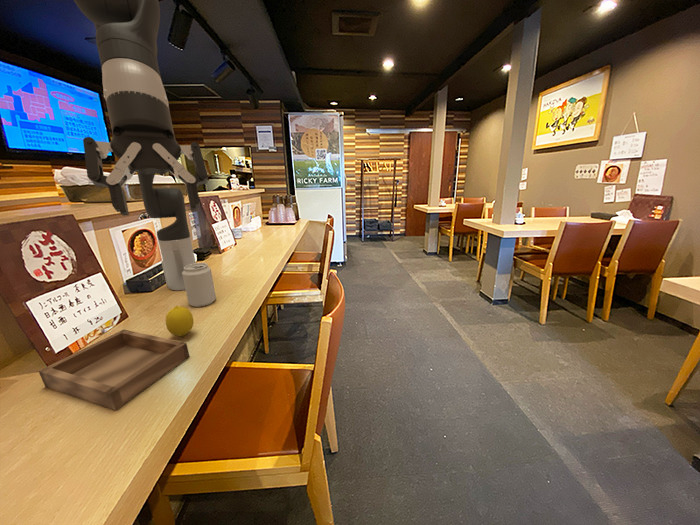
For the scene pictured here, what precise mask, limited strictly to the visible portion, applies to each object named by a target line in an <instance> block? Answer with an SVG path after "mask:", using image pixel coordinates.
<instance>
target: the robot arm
mask: <svg viewBox="0 0 700 525" xmlns="http://www.w3.org/2000/svg"><path fill="white" fill-rule="evenodd" d="M73 2H74V3H75V4H76V6H77V8H78V9H79V10H80V12H81V13H82V14H83V15H84V16H85V17H86V18H87V19H88V20H89V21H91V22H92V23H93V24H94V28H95V31H96V32H95V42H96V46H97V47H96V48H97V52H98V56H99V62H100V67H101V73H102V75H101V76H102V78H101V80H102V87H103V92H102V93H103V98H104V100H105V104H106V108H107V114H108V118H109V123H110V127H111V133H112V139H111V140H110V142H108V141H107V142H106V141H99V140H96V141H95V139H94V138H93V137H90V136H85V137H83V139H82V141H83V142H82V143H83V150H84V158H85V167H86V168H85V169H86V176H87V178H88V179H89V181H91V182H92V183H93V185H94V186H95V187H98V188H101V187H103V188H106V189H108V190H109V197H110V200H111V206H112V207H113V209H114V210H115V211H116V212H117V213H120V215H122V217H123V216H124V217H125V216H126V217H127V216H130V212H129V207H128V202H127V197H126V194H125V190H124V188H123V187H124V186H125V185H126V183H127V182H128V181H130V180H131V179H132V177H133V176H134V175H135V174H136V173H137V178H138V183H139V187H140V193H141V198H142V203H143V206H144V210H145V212H146V213H147V216H148V217H149V218H151V219H168V218H175V220H174V222H172V223H171V224H169V225H168V226H165V227H163V228H160V229H158V230H157V231H156V237H157V241H158V246H159V249H160V254H161V259H162V260H161V266H162V270H163V274H164V279H165V282H166V283H165V284H166V287H167V288H169V290H171V291H186V289H185V284H184V280H183V275H182V272H183V271H184V267H185V266H187V265H189V264H194V263H197V262H196V257H195V253H194V248H193V244H192V238H191V233H190V229H189V224H188V223H189V222H188V217H187V209H186V203H185V198H184V194H183V192H182V190H181V189H180V188H177V187H160V188H158V187H157V188H154V187H153V184H154V179H155V176H156V174H157V175H166V174H167V173H170V174H172V175H173V176H174V177H175V178H176V179H177V180H179V181H181V182H182V183H183V184H184V185H185V186H186V194H187V198H188V203H189V208H190V211H191V212H195V211H197V208H199V207H200V204H201V203H200V202H201V201H200V200H201V199H200V196H199V190H198V186H201V185H206V184H207V183H208V172H207V169H206V164H205V161H204V158H203V157H204V156H203V154H202V150H201V147H200V144H199V143H198V142H196V141H193V142H191V143H190V144H189V145H188V144H184V145H181V144H179V143H178V142H177V140H176V136H175V132H174V127H173V122H172V117H171V113H170V112H171V111H170V107H169V106H170V105H169V100H168V97H167V93H166V90H165V87H164V85H163V84H164V83H163V81H162V78H161V77H162V76H161V71H160V67H159V64H158V56H157V55H158V44H157V39H158V34H159V29H160V22H161V8H160V2H159V0H73ZM111 152H112V153H113V154H114V155H116V157H118V158H119V159H118V160H117V161H116V163H115V164H114V167H113V169H112V171H111V172H110V173H109V174H108V176H107V175H104V167H103V160H105V159H107V157H108V155H109V153H111ZM182 155H185V156H186V158H187V159H188V160H189V161H193V165H194V169H195V173H196V174H194V175H193V174H191V173H190V171H188V169H186V168H185V166H184V165H183V164H182V163H181V162H180V161H179V159H180V158H181V156H182Z"/></svg>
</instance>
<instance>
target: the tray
mask: <svg viewBox="0 0 700 525" xmlns="http://www.w3.org/2000/svg"><path fill="white" fill-rule="evenodd" d="M189 352H190V351H189V348H188V344H187V342H185V341H180V340H174V339H170V338H165V337H160V336H157V335H151V334H146V333H142V332H138V331H133V330H127V329H121V330H120V331H117V332H115V333H113V334H112V335H109V336H107V337H105V338H103V339H101V340H99V341H97V342H94V343H92V344H91V345H89V346H87V347H85V348H83V349H80V350H79V351H77V352H74V353H72V354H70V355H68V356H66V357H64V358H62V359H60V360H58V361H56V362H54V363H51V364H50V365H47V366H45V367H43V368H42V369H39V370H38V373H39V376H40V378H41V380H42V382H43V385H44V387H45V388H47V389H50V390H54V391H56V392H59V393H62V394H66V395H68V396H71V397H74V398H76V399H80V400H83V401H86V402H88V403H92V404H94V405H98V406H101V407H104V408H106V409H109V410H112V411H115V412H116V411H118V410H119V409H120V408H122V407H123V406H125V405H126V404H127V403H129V402H130V401H132V400H133V399H135V397H137V396H138V395H140V394H141V393H143V392H144V391H145V390H147V389H148V388H149V387H150V386H152V385H153V384H154V383H156V382H157V381H159V380H160V379H162V378H163V377H165V376H166V375H167V374H169V373H170V372H172V371H173V370H174V369H175V368H177V367H178V366H180V365H181V364H182V363H184V362H185V361H187V360H188V359H189V358H190V353H189Z"/></svg>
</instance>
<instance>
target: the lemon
mask: <svg viewBox="0 0 700 525" xmlns="http://www.w3.org/2000/svg"><path fill="white" fill-rule="evenodd" d="M194 323H195V322H194V316H193V314H192V312H191V311H190V309H188V308H187V307H185V306H179V305H175V306H174V307H172V308H171V309H170V310H169V311H167V313H166V316H165V326H166V329H167V331H168V332H169V333H170V334H171V335H174V336H179V337H185V336H186V334H188V333H190V332H191V330H192V329H193V327H194Z"/></svg>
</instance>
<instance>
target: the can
mask: <svg viewBox="0 0 700 525" xmlns="http://www.w3.org/2000/svg"><path fill="white" fill-rule="evenodd" d="M182 275H183V280H184V284H185V293H186V299H187V303H188V305H190V306H192V307H194V308H195V307H196V308H202V307H206V306H209V305H211V304H212V303H214V301H215V300H216V299H217V296H216V291H215V290H216V289H215V285H214V280H213V279H214V278H213V274H212V268H211V267H210V266H209V265H208V263H206V262H196V263H194V264H189V265H187V266H185V267H184V271H183V272H182ZM205 305H206V306H205ZM201 306H202V307H201Z"/></svg>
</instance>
